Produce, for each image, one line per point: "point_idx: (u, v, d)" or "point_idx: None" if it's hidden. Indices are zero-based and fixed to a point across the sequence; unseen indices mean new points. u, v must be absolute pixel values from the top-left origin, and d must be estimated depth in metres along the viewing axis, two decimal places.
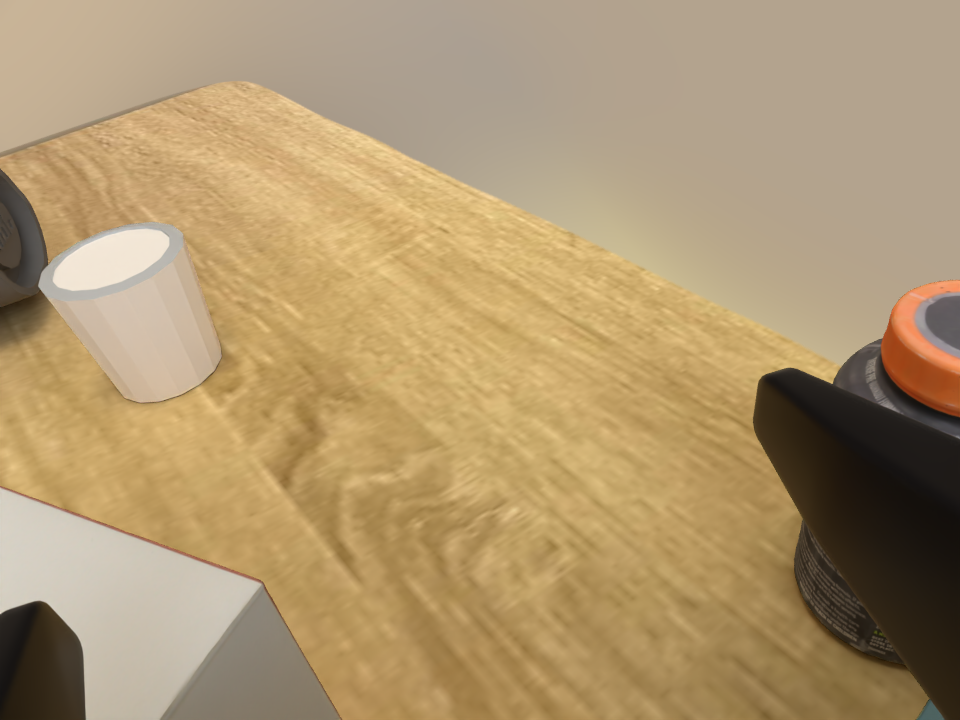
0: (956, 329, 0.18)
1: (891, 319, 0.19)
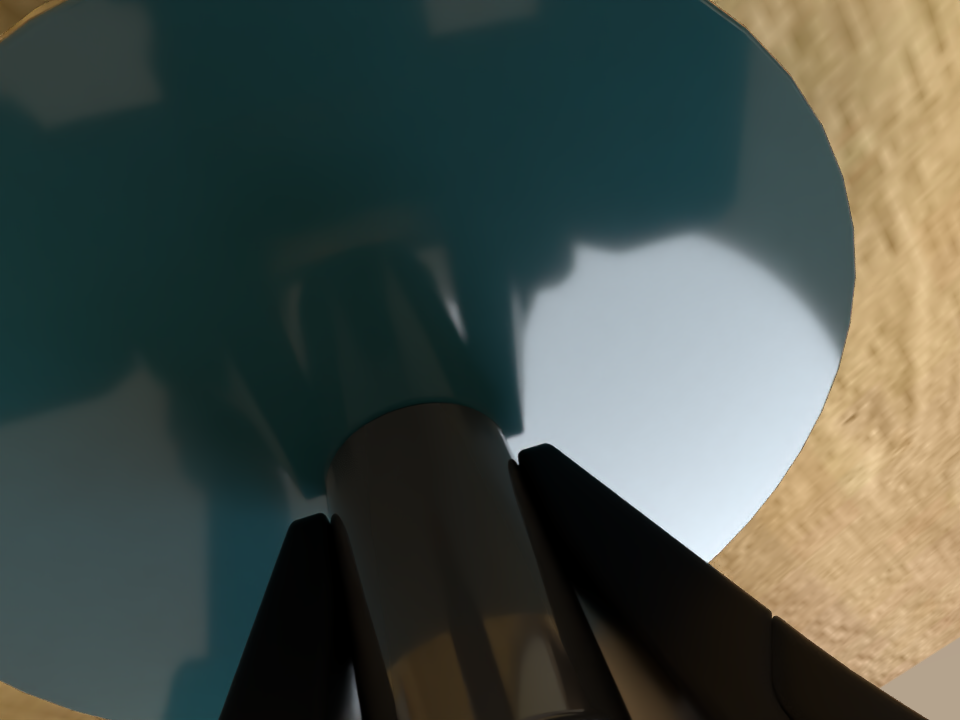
0: None
1: None
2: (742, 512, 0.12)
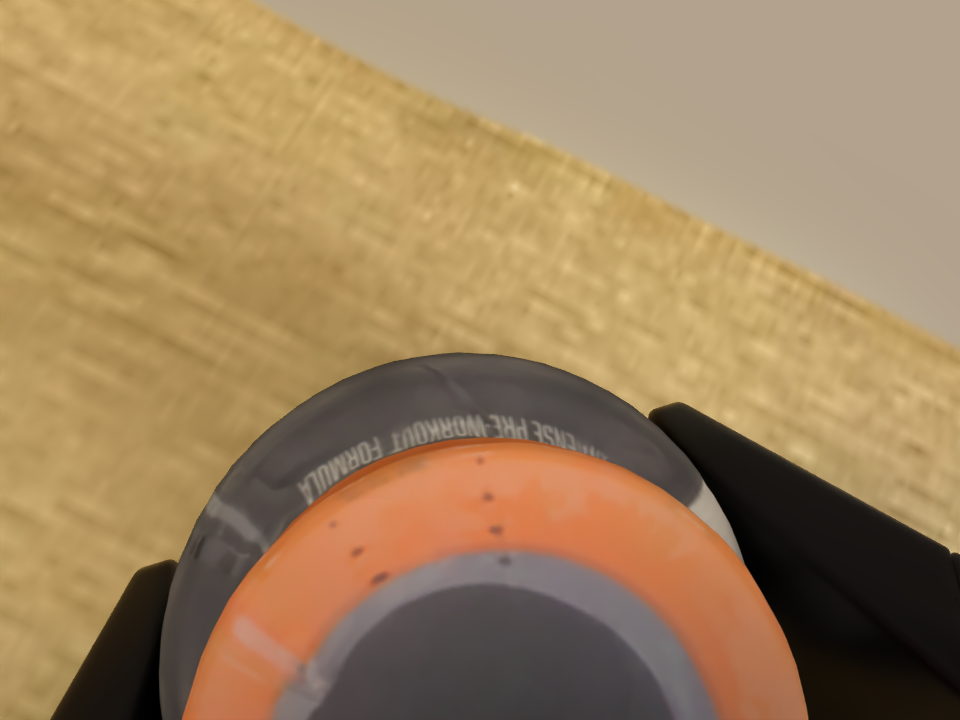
0: None
1: None
2: None
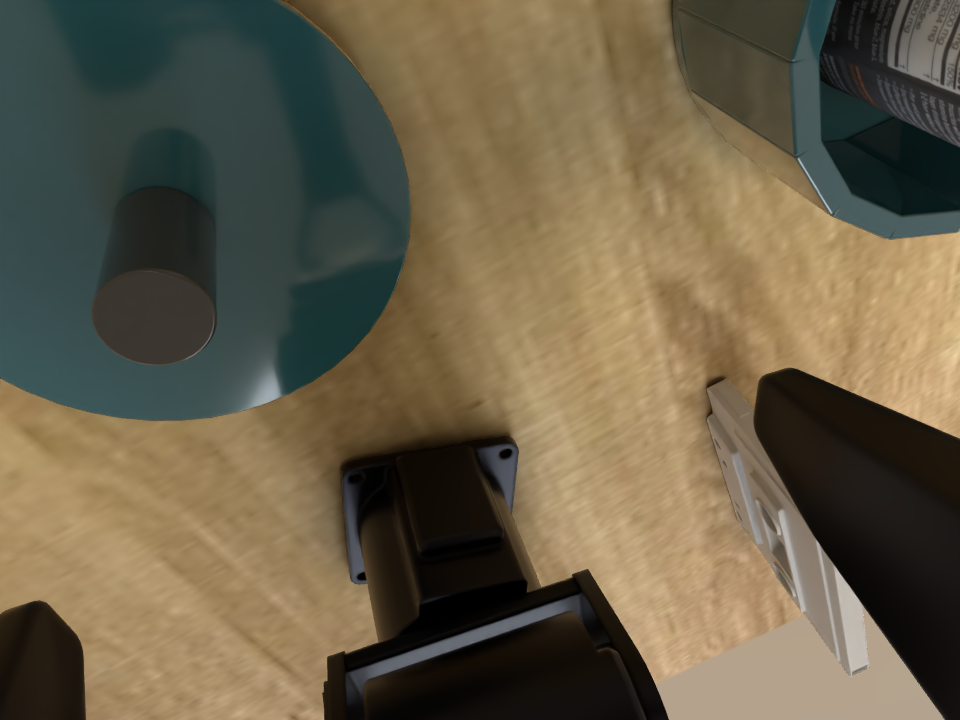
0: None
1: None
2: (397, 230, 0.20)
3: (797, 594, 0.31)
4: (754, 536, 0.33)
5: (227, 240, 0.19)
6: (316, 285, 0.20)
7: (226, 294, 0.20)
